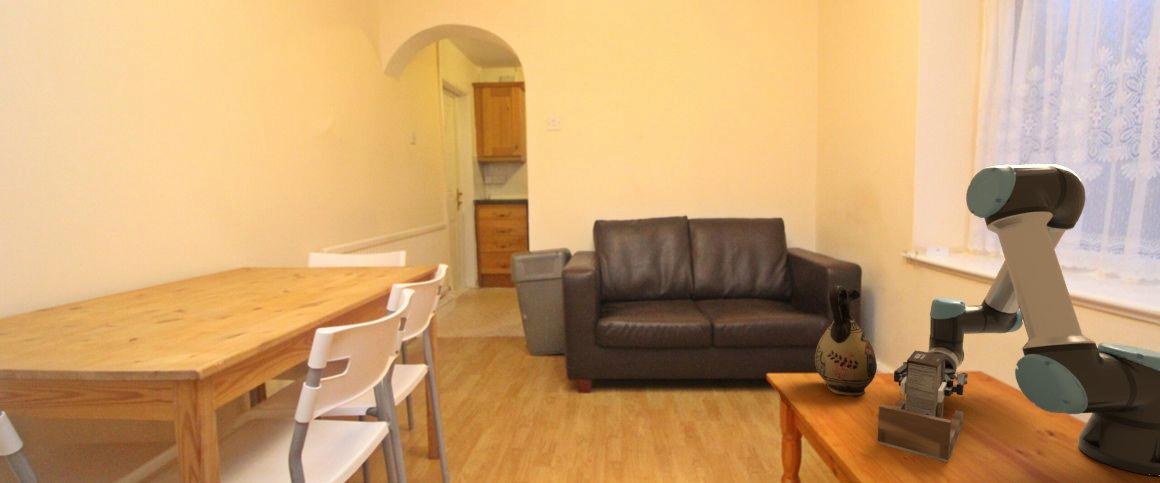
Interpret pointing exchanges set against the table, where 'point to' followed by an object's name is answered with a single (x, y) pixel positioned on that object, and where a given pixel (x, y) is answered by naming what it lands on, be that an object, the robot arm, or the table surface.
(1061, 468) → the table surface
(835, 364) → the ceramic jug
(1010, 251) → the robot arm
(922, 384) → the coffee box
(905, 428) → the wooden tray
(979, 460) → the table surface
